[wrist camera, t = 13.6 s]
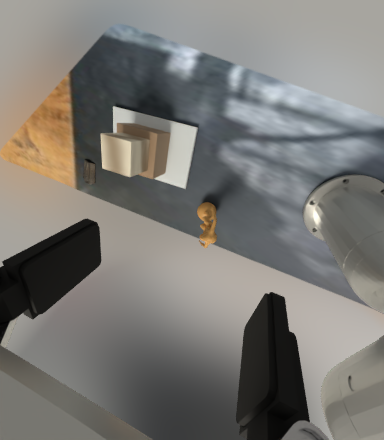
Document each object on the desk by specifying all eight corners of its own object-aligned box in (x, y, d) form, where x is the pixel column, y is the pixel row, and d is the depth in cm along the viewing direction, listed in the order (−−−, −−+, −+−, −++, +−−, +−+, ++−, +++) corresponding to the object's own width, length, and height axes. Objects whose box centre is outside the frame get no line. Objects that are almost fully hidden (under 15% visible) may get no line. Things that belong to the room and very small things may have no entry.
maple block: (149, 139, 32) (131, 142, 28) (147, 170, 35) (130, 177, 30) (122, 132, 33) (100, 133, 29) (122, 162, 36) (102, 168, 31)
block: (99, 162, 47) (94, 163, 45) (97, 184, 50) (93, 186, 48) (85, 157, 47) (80, 158, 45) (85, 180, 50) (80, 181, 48)
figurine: (205, 187, 39) (186, 209, 29) (233, 197, 38) (222, 223, 28) (195, 220, 43) (175, 249, 33) (220, 230, 42) (207, 262, 32)
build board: (198, 127, 35) (187, 127, 29) (186, 187, 41) (175, 196, 35) (115, 106, 38) (92, 103, 33) (115, 165, 44) (96, 170, 39)
